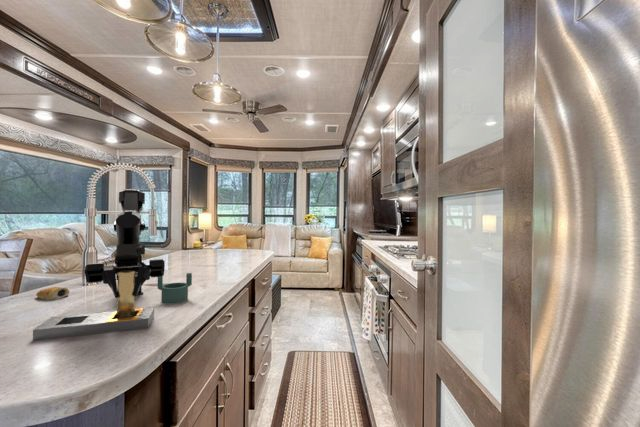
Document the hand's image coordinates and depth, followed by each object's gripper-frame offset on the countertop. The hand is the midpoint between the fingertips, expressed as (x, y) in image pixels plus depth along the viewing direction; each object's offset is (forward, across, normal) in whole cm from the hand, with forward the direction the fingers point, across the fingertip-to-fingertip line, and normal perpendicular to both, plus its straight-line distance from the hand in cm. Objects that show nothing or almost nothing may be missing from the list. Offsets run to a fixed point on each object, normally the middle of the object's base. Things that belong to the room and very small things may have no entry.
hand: (125, 296), depth 79 cm
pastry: (-24, -23, +36) cm, 49 cm away
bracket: (-8, +14, +20) cm, 25 cm away
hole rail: (+4, -6, +7) cm, 10 cm away
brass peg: (+4, 0, +6) cm, 7 cm away
